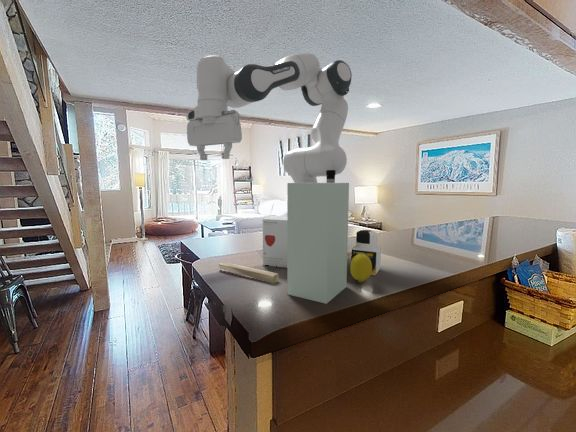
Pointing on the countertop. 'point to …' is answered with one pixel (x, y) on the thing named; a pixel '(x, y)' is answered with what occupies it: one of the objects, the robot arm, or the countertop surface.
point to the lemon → (361, 267)
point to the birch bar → (250, 272)
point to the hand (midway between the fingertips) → (214, 159)
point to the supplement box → (275, 241)
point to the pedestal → (317, 240)
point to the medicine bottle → (368, 248)
